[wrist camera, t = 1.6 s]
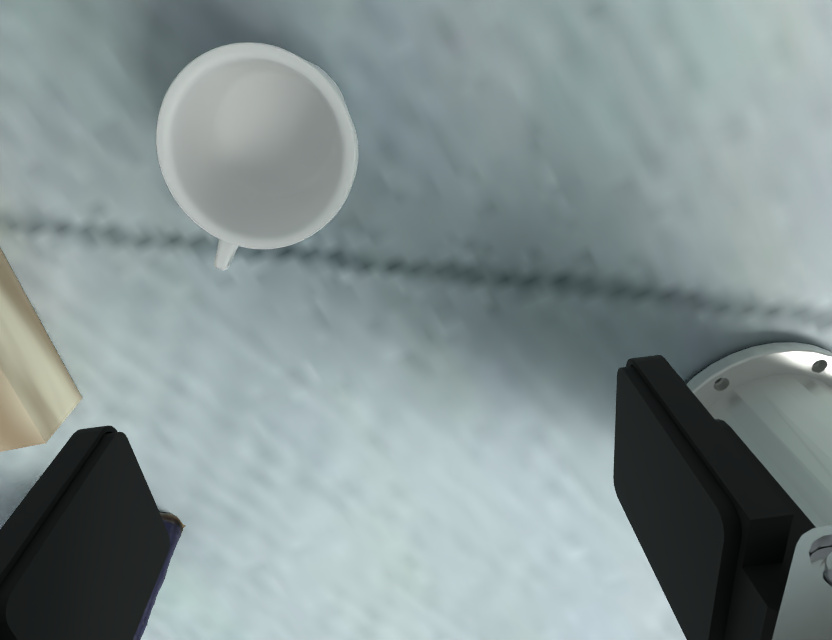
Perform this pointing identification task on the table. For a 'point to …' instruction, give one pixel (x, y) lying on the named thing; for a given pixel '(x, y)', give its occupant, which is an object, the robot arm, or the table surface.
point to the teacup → (256, 146)
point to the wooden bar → (28, 371)
